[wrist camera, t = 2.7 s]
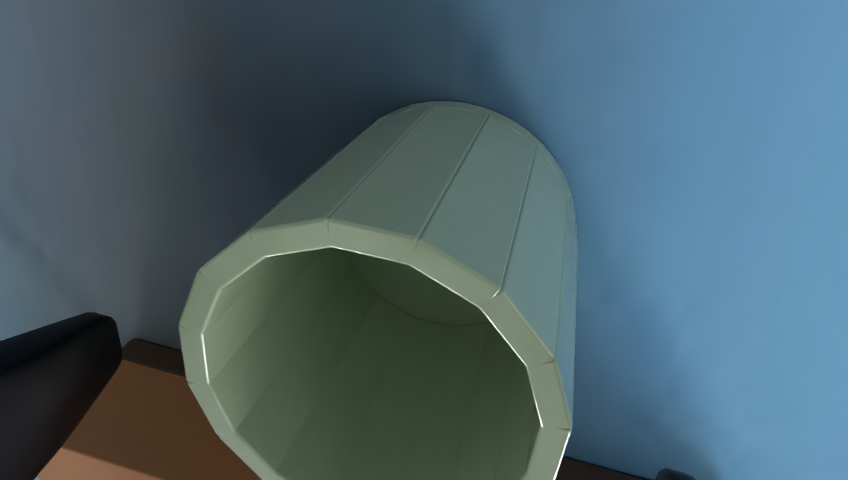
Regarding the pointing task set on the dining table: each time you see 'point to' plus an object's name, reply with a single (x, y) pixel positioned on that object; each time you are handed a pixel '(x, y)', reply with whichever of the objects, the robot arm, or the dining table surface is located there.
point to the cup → (398, 310)
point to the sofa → (172, 430)
